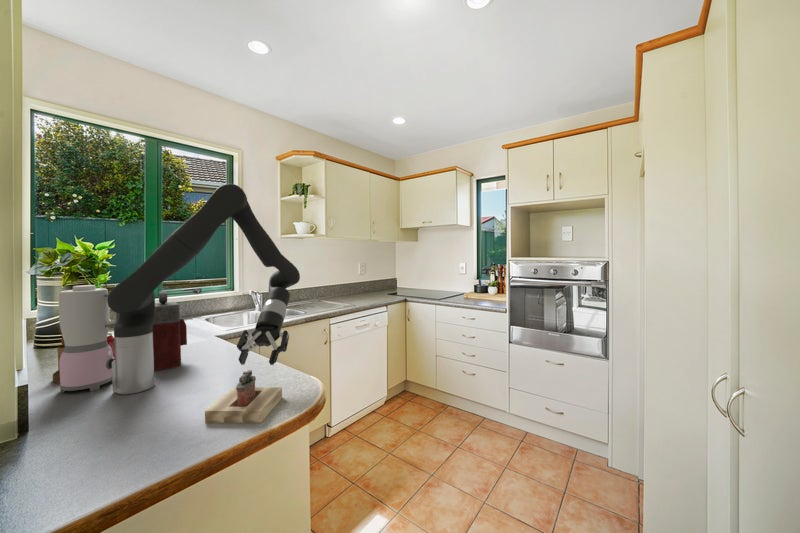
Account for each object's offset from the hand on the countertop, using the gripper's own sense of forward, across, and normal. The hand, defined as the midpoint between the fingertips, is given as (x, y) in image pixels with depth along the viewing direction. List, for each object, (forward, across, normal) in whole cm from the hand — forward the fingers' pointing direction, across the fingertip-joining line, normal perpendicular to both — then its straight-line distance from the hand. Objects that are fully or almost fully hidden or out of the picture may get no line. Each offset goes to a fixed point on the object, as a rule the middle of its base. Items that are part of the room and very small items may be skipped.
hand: (256, 363), depth 93 cm
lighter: (+12, 0, +3) cm, 12 cm away
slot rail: (+12, 0, +3) cm, 12 cm away
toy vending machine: (-12, -46, +27) cm, 55 cm away
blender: (+2, -56, +13) cm, 58 cm away
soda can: (-10, -69, +25) cm, 74 cm away
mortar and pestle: (-2, -71, +18) cm, 73 cm away
